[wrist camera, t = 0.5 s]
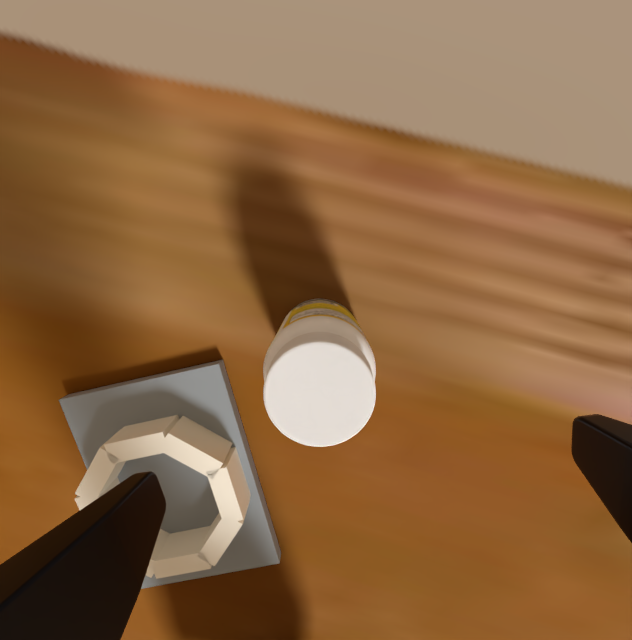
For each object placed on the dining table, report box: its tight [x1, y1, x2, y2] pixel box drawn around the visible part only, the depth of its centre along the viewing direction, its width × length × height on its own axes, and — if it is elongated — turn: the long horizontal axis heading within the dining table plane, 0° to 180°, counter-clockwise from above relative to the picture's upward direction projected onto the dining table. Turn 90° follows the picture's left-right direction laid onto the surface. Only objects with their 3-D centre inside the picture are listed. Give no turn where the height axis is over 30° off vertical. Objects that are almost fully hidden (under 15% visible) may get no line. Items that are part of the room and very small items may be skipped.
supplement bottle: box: [263, 299, 376, 447], centre depth 16 cm, size 5×5×8 cm
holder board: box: [59, 360, 281, 589], centre depth 21 cm, size 14×10×3 cm
